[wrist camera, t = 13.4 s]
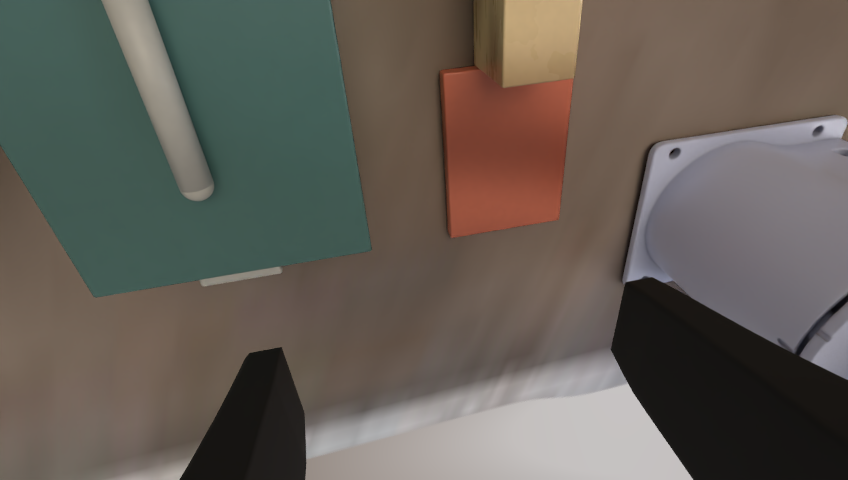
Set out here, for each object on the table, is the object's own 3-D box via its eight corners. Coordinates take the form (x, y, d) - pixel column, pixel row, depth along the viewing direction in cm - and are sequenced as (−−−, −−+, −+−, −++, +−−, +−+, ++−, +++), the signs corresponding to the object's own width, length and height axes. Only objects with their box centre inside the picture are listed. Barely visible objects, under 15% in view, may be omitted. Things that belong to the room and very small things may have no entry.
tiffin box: (290, -236, 12) (270, -363, 7) (361, 186, 19) (377, 279, 14) (-51, -221, 11) (-366, -354, 6) (153, 218, 18) (87, 330, 13)
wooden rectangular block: (554, 213, 21) (587, 252, 19) (447, 231, 21) (466, 274, 18) (614, -423, 11) (704, -531, 9) (412, -423, 11) (442, -538, 8)
